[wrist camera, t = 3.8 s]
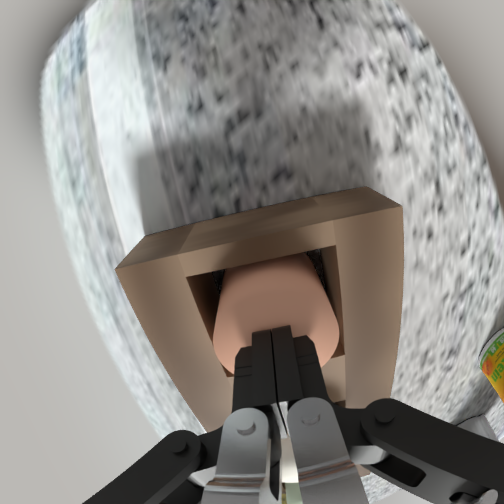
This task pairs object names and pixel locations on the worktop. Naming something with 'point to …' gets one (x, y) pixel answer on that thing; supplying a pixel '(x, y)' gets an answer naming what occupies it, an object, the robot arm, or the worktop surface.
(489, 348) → the supplement bottle
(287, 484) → the button sage
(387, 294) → the panel
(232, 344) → the button terracotta
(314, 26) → the worktop surface
